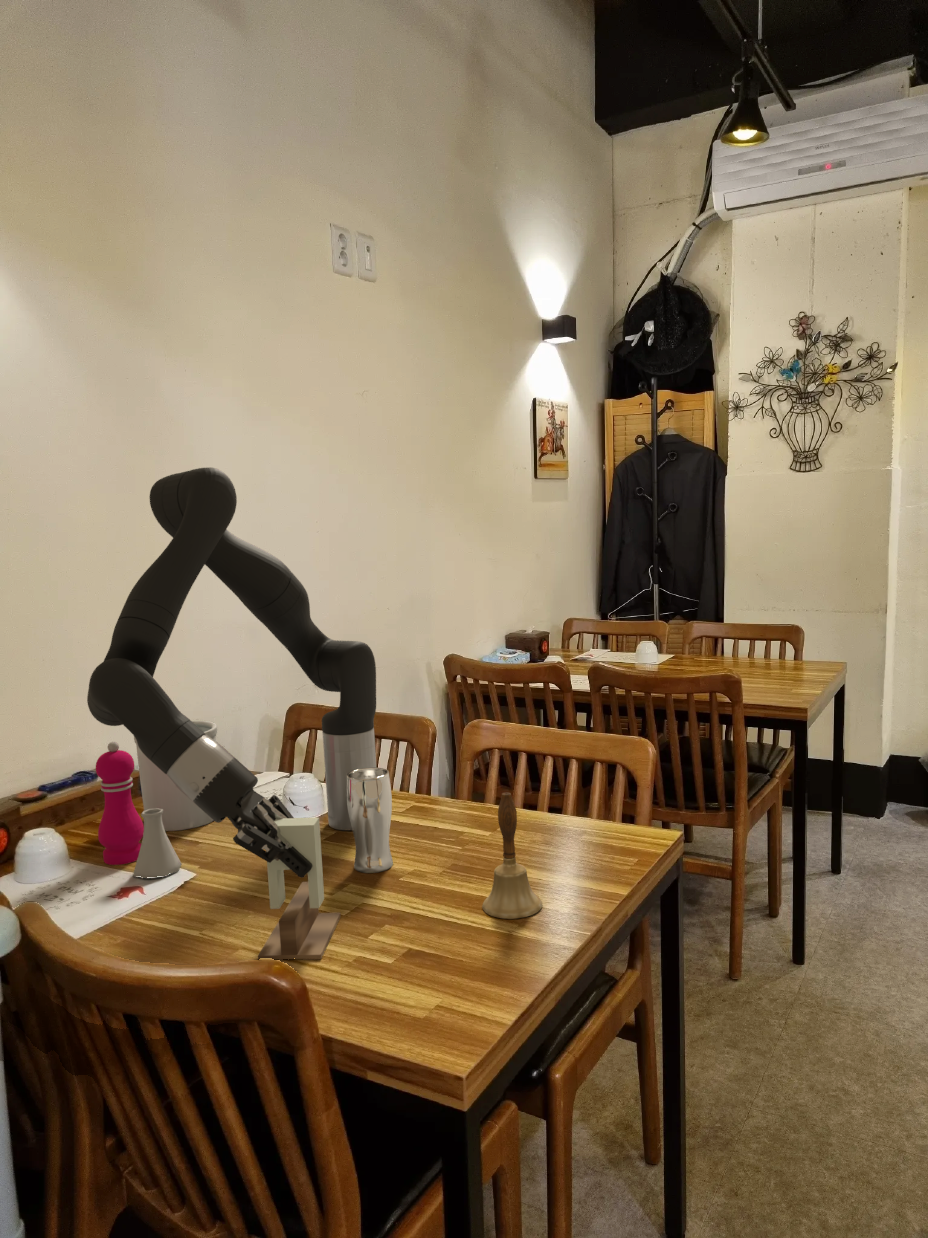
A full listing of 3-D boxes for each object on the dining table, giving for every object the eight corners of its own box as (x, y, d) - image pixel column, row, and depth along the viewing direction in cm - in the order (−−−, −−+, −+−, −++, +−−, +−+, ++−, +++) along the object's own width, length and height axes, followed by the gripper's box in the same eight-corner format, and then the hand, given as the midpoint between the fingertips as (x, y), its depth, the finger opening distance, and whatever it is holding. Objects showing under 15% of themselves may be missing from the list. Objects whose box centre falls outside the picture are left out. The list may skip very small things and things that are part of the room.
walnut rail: (283, 918, 123) (280, 882, 123) (340, 916, 123) (338, 881, 122) (258, 960, 111) (255, 921, 111) (321, 959, 111) (318, 920, 110)
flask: (166, 881, 139) (160, 819, 138) (124, 880, 140) (118, 818, 139) (189, 863, 146) (184, 804, 145) (149, 862, 147) (144, 803, 146)
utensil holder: (211, 831, 162) (203, 736, 160) (129, 834, 162) (121, 740, 160) (233, 805, 176) (226, 718, 174) (158, 808, 177) (150, 721, 175)
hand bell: (470, 906, 124) (464, 794, 123) (515, 889, 129) (510, 781, 128) (508, 925, 118) (503, 807, 116) (554, 906, 123) (550, 793, 121)
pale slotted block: (270, 909, 115) (264, 826, 114) (276, 899, 118) (271, 818, 117) (319, 908, 115) (313, 825, 114) (324, 898, 118) (319, 817, 117)
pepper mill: (155, 852, 152) (145, 737, 150) (126, 868, 145) (115, 748, 143) (121, 849, 154) (110, 735, 152) (91, 864, 148) (79, 746, 146)
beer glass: (403, 860, 142) (398, 768, 141) (381, 877, 136) (375, 781, 135) (366, 855, 145) (360, 765, 144) (343, 871, 139) (336, 777, 138)
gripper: (212, 772, 108) (317, 867, 108) (247, 744, 122) (341, 828, 122) (172, 815, 109) (277, 910, 109) (212, 782, 123) (305, 866, 123)
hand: (310, 866), depth 116 cm, fingers closed on pale slotted block, 3 cm apart
